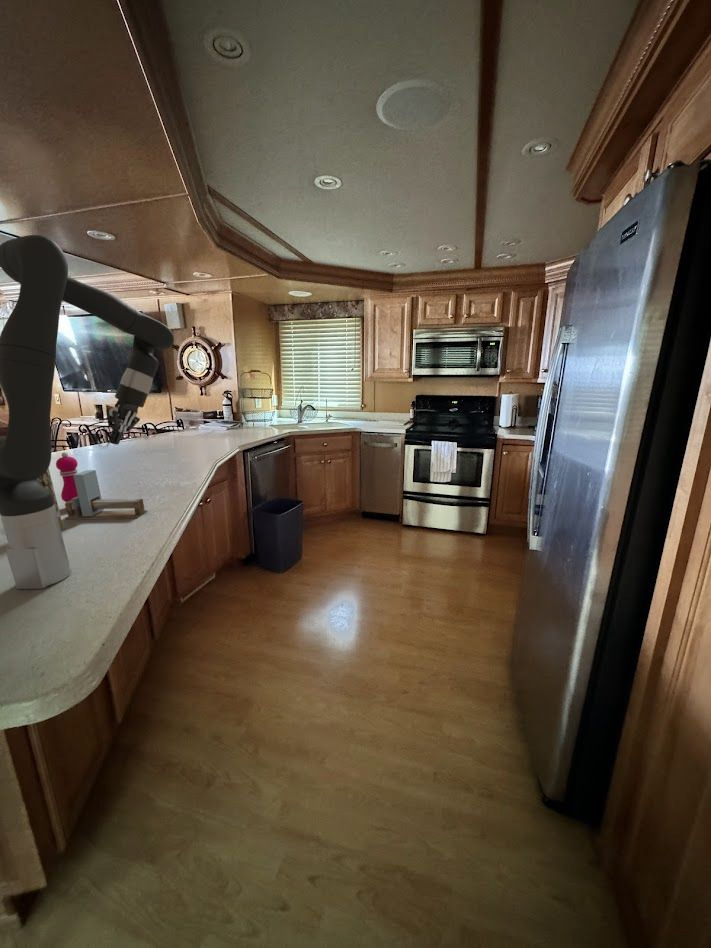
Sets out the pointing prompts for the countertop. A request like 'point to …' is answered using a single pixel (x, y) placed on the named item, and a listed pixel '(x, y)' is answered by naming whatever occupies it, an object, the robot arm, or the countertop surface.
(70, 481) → the pepper mill
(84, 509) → the light blue block
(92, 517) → the rail
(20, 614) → the countertop surface
